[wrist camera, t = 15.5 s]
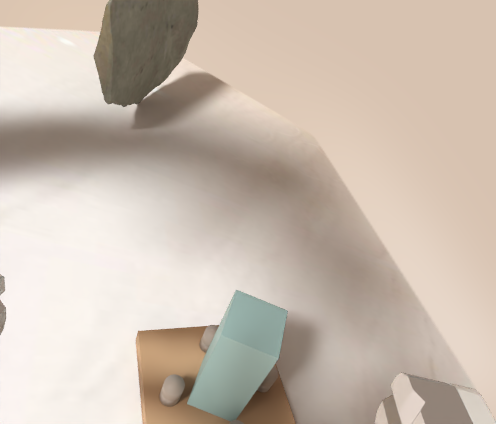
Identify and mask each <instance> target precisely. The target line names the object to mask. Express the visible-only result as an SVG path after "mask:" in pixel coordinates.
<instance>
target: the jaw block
mask: <svg viewBox="0 0 496 424" xmlns="http://www.w3.org/2000/svg"><path fill="white" fill-rule="evenodd" d="M287 312H288V311H287V310H285V309H282V308H280V307H277V306H275V305H272V304H270V303H267V302H265V301H263V300H260V299H258V298H255V297H253V296H250V295H248V294H246V293H243V292H241V291H238V290H236V291H235V294H234V296H233V298H232V300H231V302H230V304H229V306H228V308H227V310H226V312H225V315H224V317H223V319H222V321H221V323H220V325H219V327H218V329H217V331H216V333H215V336H214V338H213V340H212V342H211V344H210V346H209V348H208V350H207V352H206V354H205V357H204V359H203V361H202V364H201V366H200V369H199V372H198V375H197V377H196V380H195V383H194V386H193V388H192V391H191V394H190V397H189V399H188V402H187V404H189V405H191V406H194V407H196V408H198V409H201V410H203V411H206V412H208V413H211V414H213V415H216V416H218V417H221V418H223V419H226V420H228V421H233V420H236V419H237V417H238V416H239V415H240V413H241V412H242V410H243V409H244V407H245V406H246V405H247V403H248V402H249V400H250V399H251V397H252V396H253V395H254V393H255V392H256V390H257V389H258V388H259V386H260V385H261V383H262V382H263V380H264V379H265V378H266V376H267V375H268V373H269V372H270V370H271V369H272V368H273V366H274V365H275V363H276V362H277V360H278V359H279V355H280V350H281V344H282V339H283V334H284V328H285V323H286V318H287Z"/></svg>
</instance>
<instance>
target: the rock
mask: <svg viewBox="0 0 496 424" xmlns="http://www.w3.org/2000/svg"><path fill="white" fill-rule="evenodd" d="M197 20H198V0H109V2H108V4H107V5H106V8H105V13H104V17H103V21H102V29H101V33H100V36H99V41H98V44H97V47H96V51H95V53H94V59H95V63H96V67H97V71H98V74H99V79H100V83H101V88H102V93H103V95H104V100H105V101H106V103H107V104H111V103H114V104H117V105H122V106H123V107H125V106H127V105H131V104H134V103H135V104H138V103H139V102H141V101H142V99H143V98H144V97H145V96H147V94H148V93H150V92H151V91H152V90H153V89H154V88H155V87H157V86H159V85H160V84H161V83H162V82H164V81H165V80H166V79H167V78H168V76H169V75H170V74H171V72H172V71H173V69H174V68H175V67H176V66H177V65H178V64H179V62H180V61H181V60H182V58H183V56H184V54H185V53H186V50H187V46H188V43H189V41H190V38H191V37H192V35H193V33H194V31H195V29H196V27H197Z"/></svg>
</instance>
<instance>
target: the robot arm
mask: <svg viewBox="0 0 496 424" xmlns="http://www.w3.org/2000/svg"><path fill="white" fill-rule="evenodd" d="M4 291H5V282H4V277H3V276H2V275H0V295H1V294H2V293H3V292H4ZM5 320H6V307H5V306H4V305H3V303H2V302H1V301H0V334H1V333H2V331H3V329H4V325H5ZM391 388H392V392H393V395H392V396H390V397H388V398H386V399H384V400H382V402H381V404H380V406H379V408H378V410H377V412H376V418H375V424H496V421H495V419H494V417H493V416H492V414H491V412H490V410H489V408H488V406H487V404H486V403H485V401H484V399H483V397H482V395H481V394H480V393H478V392H477V391H476V390H475V389H471V388H467V387H462V386H458V385H454V384H447V383H444V382H439V381H435V380H431V379H427V378H423V377H418V376H414V375H410V374H406V373H402V372H401V373H400V374H398V375H397V376H396V377H395V379H394V380H393V382H392V384H391Z"/></svg>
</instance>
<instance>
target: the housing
mask: <svg viewBox="0 0 496 424" xmlns="http://www.w3.org/2000/svg"><path fill="white" fill-rule="evenodd" d="M218 327H219V325H210V326H201V327H188V328H174V329H160V330H146V331H138V334H137V338H136V349H137V360H138V372H139V384H140V396H141V408H142V420H143V424H296V423H295V420H294V417H293V414H292V411H291V408H290V405H289V402H288V399H287V396H286V393H285V390H284V387H283V384H282V381H281V379H280V376H279V373H278V370H277V367H276V364H275V365H274V366H273V368H272V369H271V370H270V372H269V373H268V375H267V376H266V378H265V379H264V380H263V382H262V383H261V385H260V386H259V388H258V389H257V390H256V392H255V393H254V395H253V396H252V397H251V399H250V400H249V402H248V403H247V405H246V406H245V407H244V409H243V410H242V412H241V413H240V415H239V416H238V417H237V419H236V420H233V421H228V420H226V419H223V418H221V417H218V416H216V415H213V414H211V413H208V412H206V411H203V410H201V409H198V408H196V407H194V406H191V405H189V404H187V402H188V399H189V397H190V394H191V391H192V388H193V386H194V383H195V380H196V377H197V375H198V372H199V369H200V366H201V364H202V361H203V359H204V357H205V354H206V352H207V350H208V348H209V346H210V344H211V342H212V340H213V338H214V336H215V333H216V331H217V329H218Z"/></svg>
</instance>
